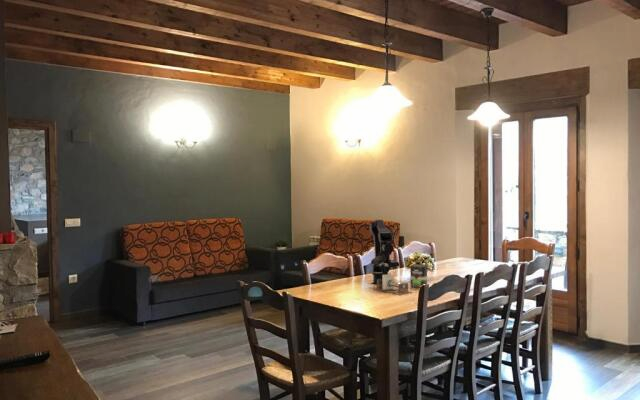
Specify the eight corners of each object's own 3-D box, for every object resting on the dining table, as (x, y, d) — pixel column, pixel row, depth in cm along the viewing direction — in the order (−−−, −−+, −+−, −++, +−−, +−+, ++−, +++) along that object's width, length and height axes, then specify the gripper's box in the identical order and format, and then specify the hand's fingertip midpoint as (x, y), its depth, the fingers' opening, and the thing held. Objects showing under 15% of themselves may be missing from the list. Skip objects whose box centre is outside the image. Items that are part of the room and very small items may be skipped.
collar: (382, 289, 319) (382, 274, 319) (390, 287, 324) (390, 273, 323) (386, 289, 317) (386, 275, 317) (394, 288, 321) (394, 274, 321)
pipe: (374, 288, 323) (374, 279, 322) (386, 286, 328) (386, 277, 328) (398, 294, 307) (398, 284, 307) (410, 291, 313) (410, 282, 313)
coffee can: (424, 290, 319) (424, 267, 319) (408, 289, 324) (408, 266, 324) (429, 287, 328) (429, 264, 328) (413, 286, 333) (413, 263, 333)
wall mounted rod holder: (373, 289, 323) (373, 279, 323) (385, 287, 329) (385, 277, 329) (399, 295, 306) (399, 285, 306) (411, 293, 312) (411, 282, 312)
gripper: (364, 250, 324) (364, 276, 325) (386, 254, 309) (386, 280, 310) (378, 249, 331) (377, 274, 331) (399, 252, 316) (399, 278, 317)
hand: (385, 277), depth 322 cm, fingers closed
